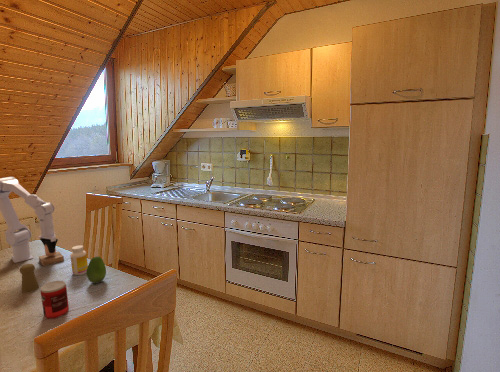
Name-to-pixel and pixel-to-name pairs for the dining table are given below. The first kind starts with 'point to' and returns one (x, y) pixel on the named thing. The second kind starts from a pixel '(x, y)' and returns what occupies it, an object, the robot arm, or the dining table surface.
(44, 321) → the dining table surface
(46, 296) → the canned food
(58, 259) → the walnut board
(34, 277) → the cork
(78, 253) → the supplement bottle
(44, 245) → the tan rounded cylinder
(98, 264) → the fruit
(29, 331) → the dining table surface
